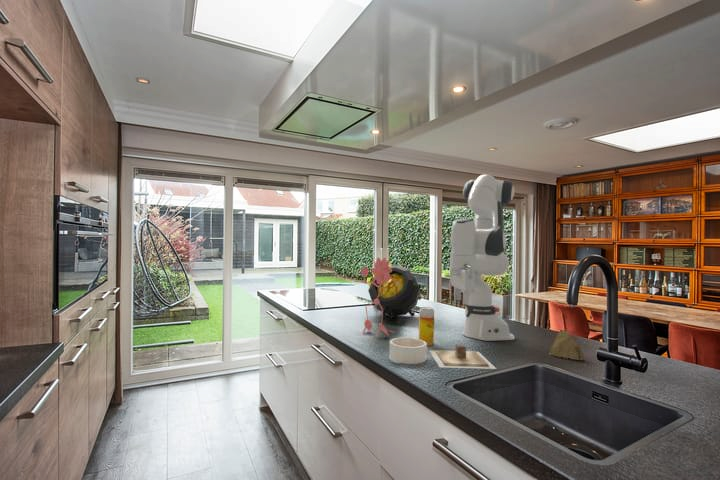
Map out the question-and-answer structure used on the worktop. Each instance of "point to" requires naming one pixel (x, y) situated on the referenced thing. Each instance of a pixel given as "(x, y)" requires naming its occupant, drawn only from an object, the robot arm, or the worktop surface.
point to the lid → (461, 357)
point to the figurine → (381, 276)
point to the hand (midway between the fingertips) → (461, 301)
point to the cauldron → (396, 293)
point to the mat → (460, 366)
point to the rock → (566, 347)
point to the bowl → (408, 350)
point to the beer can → (426, 325)
